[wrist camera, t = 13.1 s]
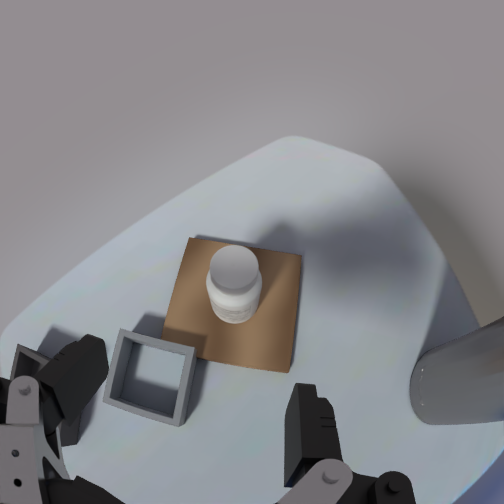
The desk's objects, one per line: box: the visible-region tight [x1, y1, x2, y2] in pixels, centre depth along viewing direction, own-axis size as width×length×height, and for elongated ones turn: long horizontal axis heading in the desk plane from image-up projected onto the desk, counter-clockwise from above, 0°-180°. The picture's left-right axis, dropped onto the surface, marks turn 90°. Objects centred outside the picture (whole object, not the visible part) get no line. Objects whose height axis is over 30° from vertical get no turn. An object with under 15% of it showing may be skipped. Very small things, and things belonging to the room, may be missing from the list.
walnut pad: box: [160, 237, 302, 373], centre depth 27 cm, size 12×12×1 cm
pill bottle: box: [206, 245, 262, 324], centre depth 23 cm, size 4×4×8 cm
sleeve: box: [103, 328, 197, 427], centre depth 22 cm, size 7×7×2 cm
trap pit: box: [10, 344, 82, 447], centre depth 19 cm, size 8×8×4 cm
